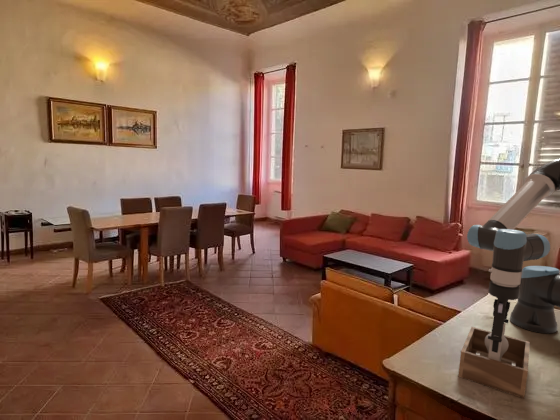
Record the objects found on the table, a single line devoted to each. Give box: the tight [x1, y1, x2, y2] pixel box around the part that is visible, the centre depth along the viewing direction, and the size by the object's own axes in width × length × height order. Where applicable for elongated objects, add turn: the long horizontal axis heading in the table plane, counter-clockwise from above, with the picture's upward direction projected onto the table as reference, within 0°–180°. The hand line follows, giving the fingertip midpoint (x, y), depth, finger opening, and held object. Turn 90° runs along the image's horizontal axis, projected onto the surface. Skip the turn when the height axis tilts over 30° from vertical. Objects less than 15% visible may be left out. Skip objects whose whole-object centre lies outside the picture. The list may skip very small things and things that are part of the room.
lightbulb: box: [485, 333, 509, 361], centre depth 109 cm, size 6×6×11 cm
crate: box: [457, 326, 531, 399], centre depth 109 cm, size 20×16×8 cm
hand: (495, 351), depth 109 cm, fingers open, 13 cm apart
